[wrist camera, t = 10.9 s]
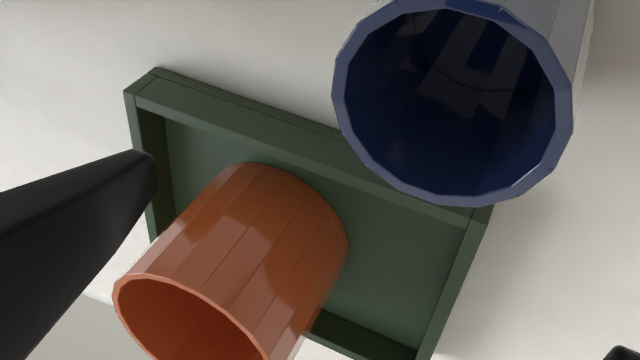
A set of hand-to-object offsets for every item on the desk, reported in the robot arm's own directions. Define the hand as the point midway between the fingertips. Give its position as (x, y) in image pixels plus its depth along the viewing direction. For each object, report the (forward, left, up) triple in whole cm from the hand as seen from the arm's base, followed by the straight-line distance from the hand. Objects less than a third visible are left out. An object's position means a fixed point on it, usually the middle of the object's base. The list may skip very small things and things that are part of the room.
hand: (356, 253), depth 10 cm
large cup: (-6, -12, -10) cm, 16 cm away
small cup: (0, +1, -10) cm, 10 cm away
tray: (-5, -11, -10) cm, 16 cm away
